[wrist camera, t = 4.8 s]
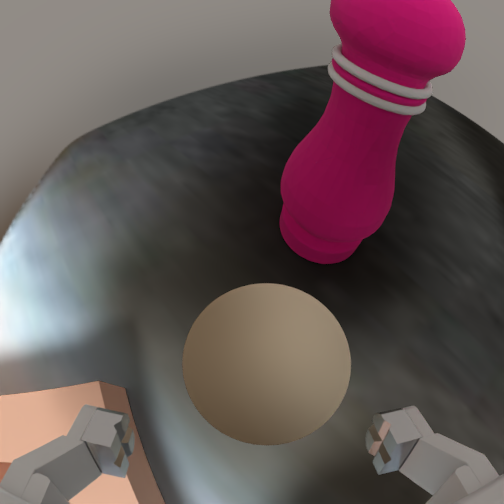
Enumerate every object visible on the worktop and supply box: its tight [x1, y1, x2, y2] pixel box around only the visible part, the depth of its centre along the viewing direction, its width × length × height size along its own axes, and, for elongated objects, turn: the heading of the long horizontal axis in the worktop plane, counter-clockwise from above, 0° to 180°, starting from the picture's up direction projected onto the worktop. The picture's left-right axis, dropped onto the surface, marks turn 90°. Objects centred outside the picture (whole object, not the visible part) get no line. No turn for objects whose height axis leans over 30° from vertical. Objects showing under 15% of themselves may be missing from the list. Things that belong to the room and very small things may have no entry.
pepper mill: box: [280, 0, 466, 264], centre depth 13 cm, size 7×7×20 cm
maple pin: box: [182, 283, 351, 445], centre depth 11 cm, size 4×4×11 cm
